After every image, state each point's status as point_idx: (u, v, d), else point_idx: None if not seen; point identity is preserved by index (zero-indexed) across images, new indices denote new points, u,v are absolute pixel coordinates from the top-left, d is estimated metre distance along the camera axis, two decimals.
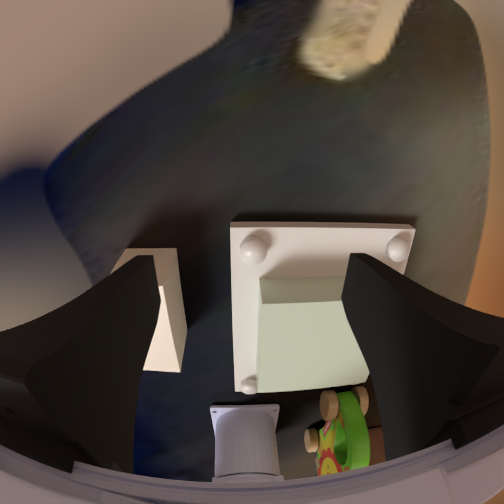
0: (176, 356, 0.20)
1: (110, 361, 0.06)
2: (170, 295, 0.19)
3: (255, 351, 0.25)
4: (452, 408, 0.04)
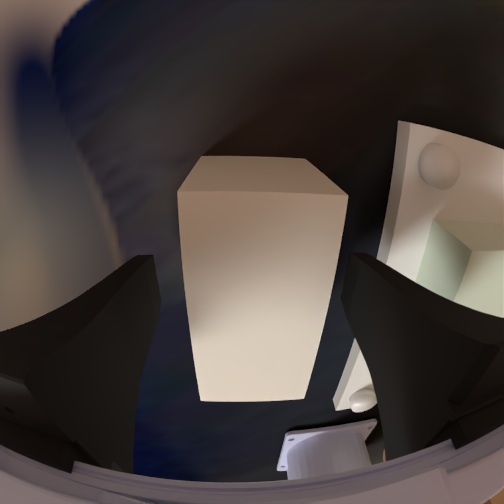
0: (310, 370, 0.10)
1: (110, 361, 0.06)
2: None
3: None
4: (452, 408, 0.04)
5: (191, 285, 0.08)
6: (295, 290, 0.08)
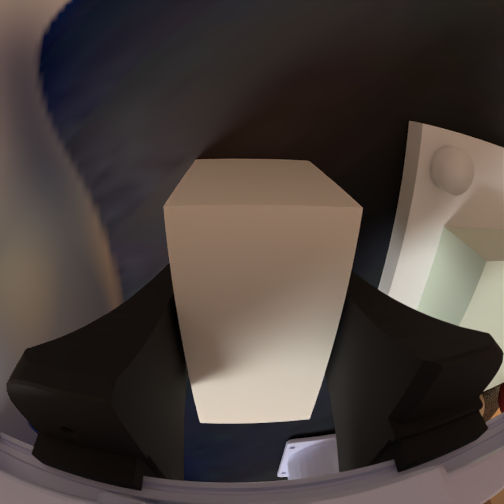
0: (316, 392, 0.09)
1: (169, 366, 0.06)
2: None
3: None
4: (393, 427, 0.04)
5: (184, 310, 0.07)
6: (301, 313, 0.07)
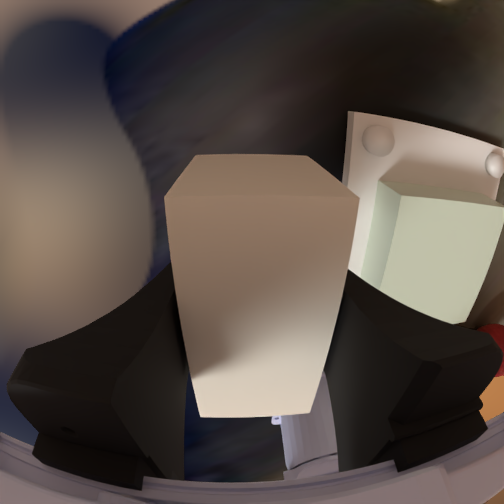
0: (316, 385, 0.09)
1: (169, 366, 0.06)
2: None
3: None
4: (393, 427, 0.04)
5: (184, 300, 0.07)
6: (300, 304, 0.07)
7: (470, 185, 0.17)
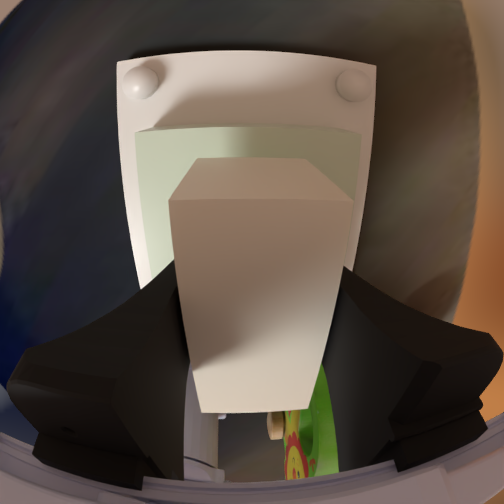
0: (314, 381, 0.09)
1: (169, 366, 0.06)
2: None
3: None
4: (393, 427, 0.04)
5: (187, 298, 0.07)
6: (297, 302, 0.07)
7: (310, 117, 0.14)
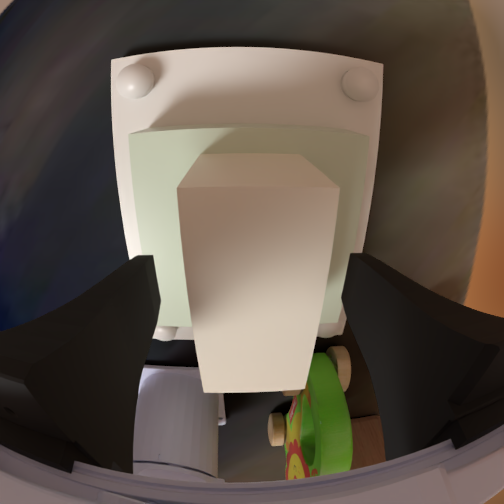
0: (309, 360, 0.10)
1: (110, 361, 0.06)
2: None
3: None
4: (452, 408, 0.04)
5: (192, 277, 0.08)
6: (292, 280, 0.08)
7: (314, 117, 0.13)
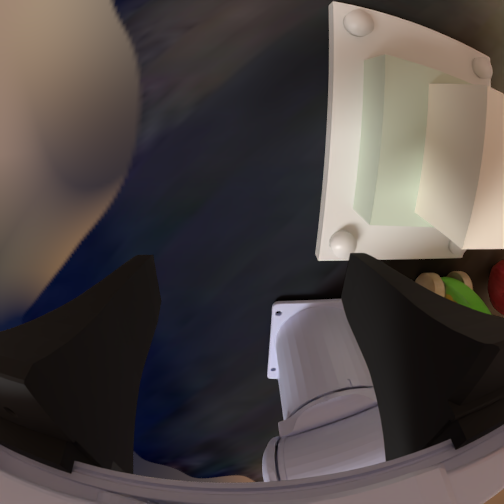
0: None
1: (110, 361, 0.06)
2: None
3: (356, 174, 0.18)
4: (452, 408, 0.04)
5: (487, 139, 0.09)
6: None
7: None
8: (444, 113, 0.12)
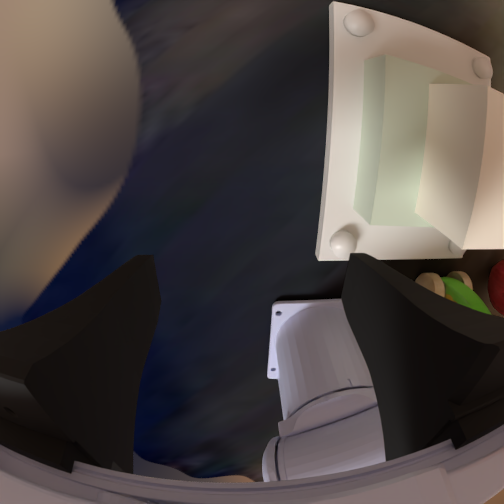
0: None
1: (110, 361, 0.06)
2: None
3: (356, 174, 0.18)
4: (452, 408, 0.04)
5: (487, 139, 0.09)
6: None
7: None
8: (444, 113, 0.12)
